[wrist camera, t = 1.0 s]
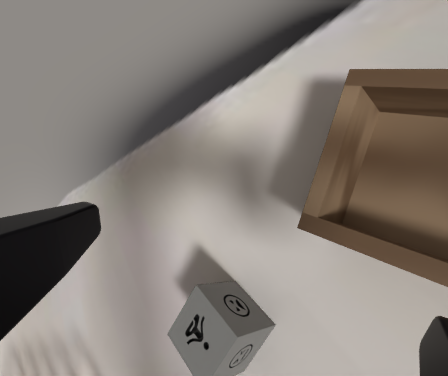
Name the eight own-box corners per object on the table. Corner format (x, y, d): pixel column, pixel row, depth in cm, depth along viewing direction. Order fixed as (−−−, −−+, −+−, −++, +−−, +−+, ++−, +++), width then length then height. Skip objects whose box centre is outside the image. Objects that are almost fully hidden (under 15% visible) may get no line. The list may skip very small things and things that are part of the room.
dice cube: (235, 280, 27) (196, 284, 23) (276, 324, 24) (237, 337, 20) (209, 323, 28) (167, 334, 24) (244, 370, 25) (202, 391, 21)
